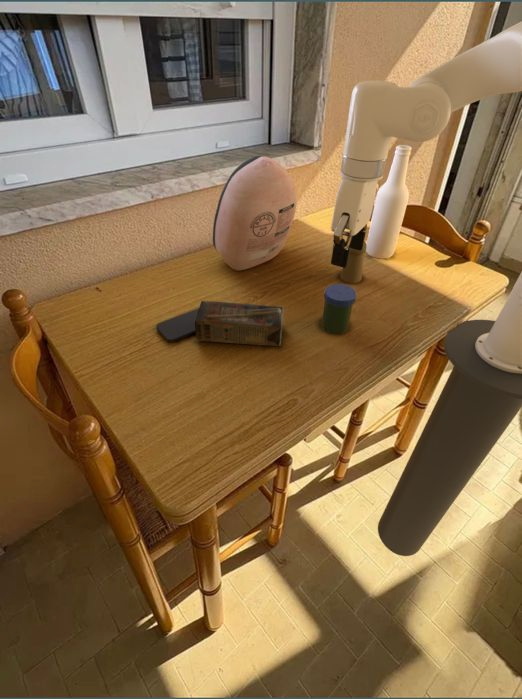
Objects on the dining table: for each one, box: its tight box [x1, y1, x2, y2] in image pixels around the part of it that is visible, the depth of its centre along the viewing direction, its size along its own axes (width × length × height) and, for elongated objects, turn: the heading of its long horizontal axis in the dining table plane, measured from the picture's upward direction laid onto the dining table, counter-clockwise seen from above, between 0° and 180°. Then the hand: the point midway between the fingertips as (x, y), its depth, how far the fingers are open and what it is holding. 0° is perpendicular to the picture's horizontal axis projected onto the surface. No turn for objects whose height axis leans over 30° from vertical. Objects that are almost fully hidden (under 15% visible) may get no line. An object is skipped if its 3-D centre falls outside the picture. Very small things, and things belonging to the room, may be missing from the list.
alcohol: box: [365, 144, 413, 259], centre depth 109 cm, size 9×9×30 cm
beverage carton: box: [195, 300, 284, 347], centre depth 85 cm, size 8×19×7 cm, turn 86°
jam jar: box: [320, 299, 354, 335], centre depth 88 cm, size 6×6×9 cm
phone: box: [156, 308, 199, 343], centre depth 90 cm, size 7×1×15 cm
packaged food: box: [212, 155, 298, 272], centre depth 103 cm, size 22×20×30 cm
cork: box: [339, 240, 367, 284], centre depth 104 cm, size 6×6×11 cm
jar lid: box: [323, 283, 357, 307], centre depth 85 cm, size 7×7×2 cm
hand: (347, 256), depth 79 cm, fingers open, 8 cm apart
